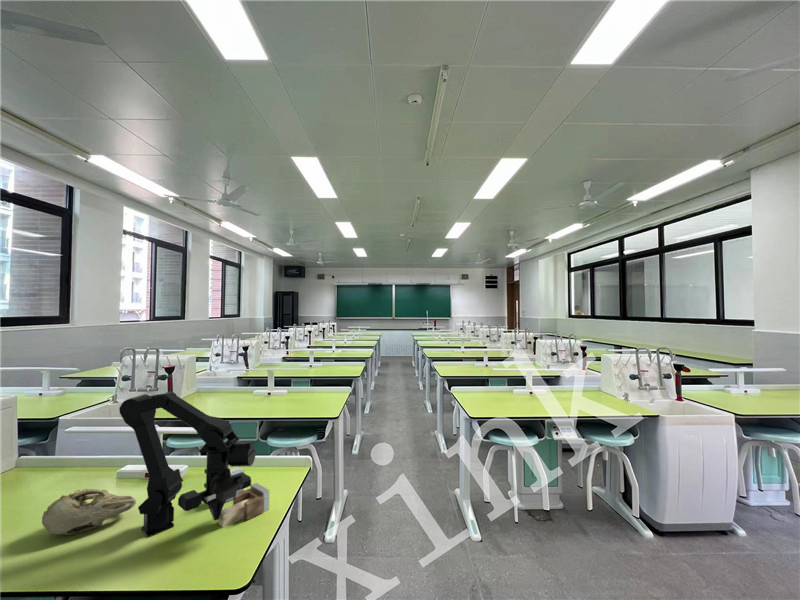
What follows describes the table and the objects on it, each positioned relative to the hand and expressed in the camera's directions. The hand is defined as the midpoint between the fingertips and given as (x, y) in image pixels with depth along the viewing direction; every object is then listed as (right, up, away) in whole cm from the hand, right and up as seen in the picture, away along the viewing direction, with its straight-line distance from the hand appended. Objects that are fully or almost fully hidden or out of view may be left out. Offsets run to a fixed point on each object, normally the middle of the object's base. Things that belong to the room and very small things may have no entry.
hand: (216, 519), depth 101 cm
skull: (-38, -2, +1) cm, 38 cm away
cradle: (+6, -2, +8) cm, 10 cm away
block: (+4, -2, +5) cm, 7 cm away
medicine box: (-4, -3, +16) cm, 17 cm away
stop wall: (+8, -3, +11) cm, 14 cm away
